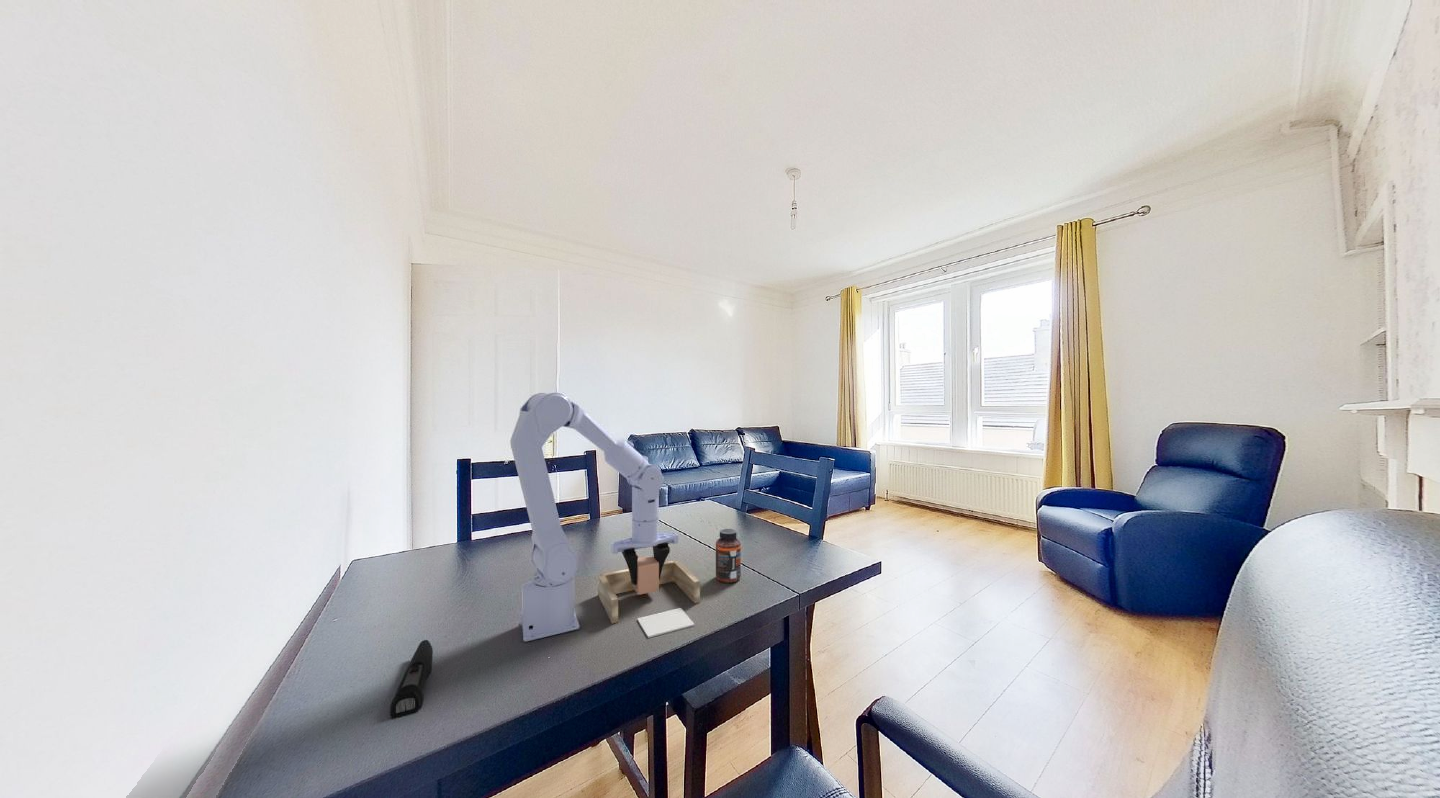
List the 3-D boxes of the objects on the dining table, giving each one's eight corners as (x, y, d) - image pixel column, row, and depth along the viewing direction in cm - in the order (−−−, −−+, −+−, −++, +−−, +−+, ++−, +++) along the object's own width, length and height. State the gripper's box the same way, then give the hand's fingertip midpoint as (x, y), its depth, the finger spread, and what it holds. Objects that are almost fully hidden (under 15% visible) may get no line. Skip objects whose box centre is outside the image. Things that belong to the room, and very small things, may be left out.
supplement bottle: (741, 584, 99) (740, 535, 99) (715, 584, 99) (715, 535, 99) (740, 573, 105) (740, 527, 104) (716, 573, 105) (715, 527, 105)
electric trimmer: (439, 654, 73) (438, 635, 73) (421, 713, 59) (421, 690, 59) (412, 660, 72) (412, 641, 72) (387, 722, 58) (387, 698, 58)
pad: (648, 638, 77) (648, 636, 77) (637, 619, 83) (637, 618, 83) (694, 625, 81) (694, 624, 81) (680, 609, 87) (680, 607, 87)
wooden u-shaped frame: (611, 623, 82) (611, 600, 82) (598, 595, 93) (598, 574, 93) (699, 602, 90) (699, 580, 90) (677, 578, 102) (677, 559, 102)
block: (638, 594, 90) (638, 566, 90) (632, 586, 94) (632, 559, 94) (658, 590, 92) (658, 562, 92) (652, 582, 96) (652, 555, 96)
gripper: (670, 509, 100) (670, 568, 100) (607, 518, 93) (607, 580, 93) (681, 517, 93) (682, 579, 94) (615, 526, 87) (615, 593, 87)
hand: (645, 580), depth 93 cm, fingers closed on block, 4 cm apart
